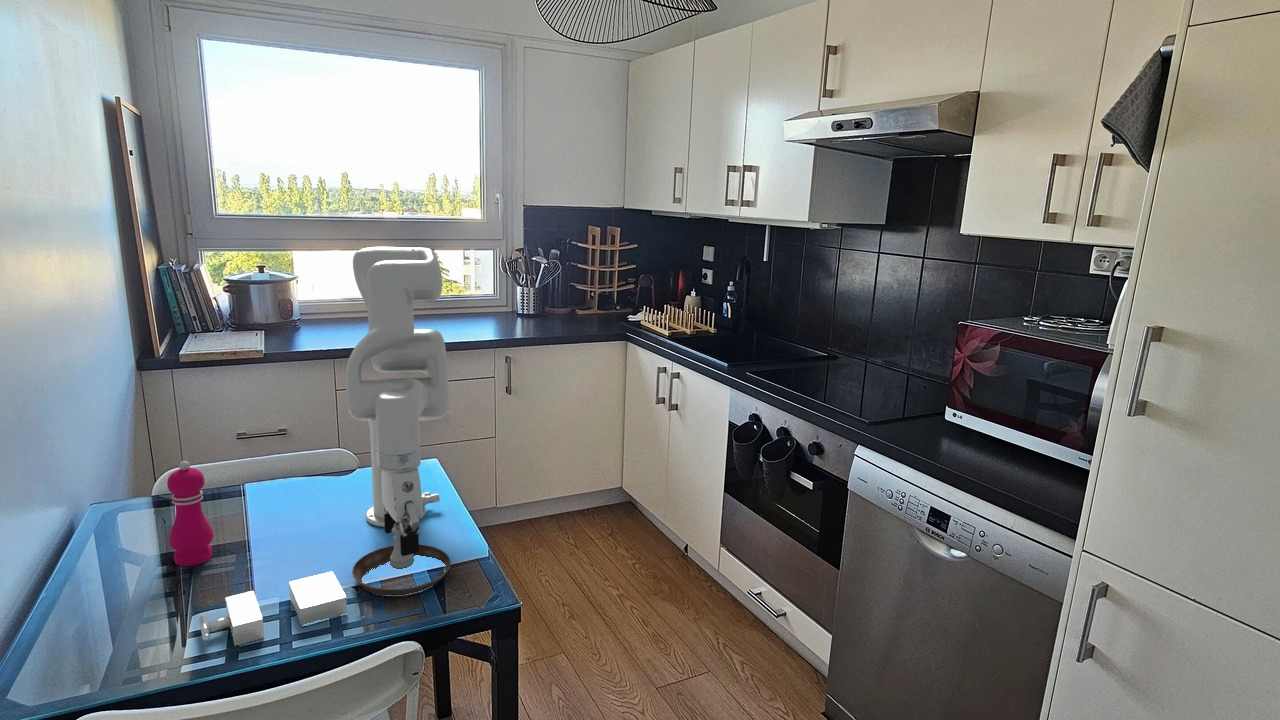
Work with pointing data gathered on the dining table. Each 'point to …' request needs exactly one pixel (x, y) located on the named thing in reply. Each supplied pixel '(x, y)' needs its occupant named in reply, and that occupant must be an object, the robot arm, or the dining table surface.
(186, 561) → the pepper mill
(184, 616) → the dining table surface
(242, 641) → the bench vise
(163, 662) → the dining table surface
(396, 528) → the rook chess piece
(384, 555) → the plant saucer
